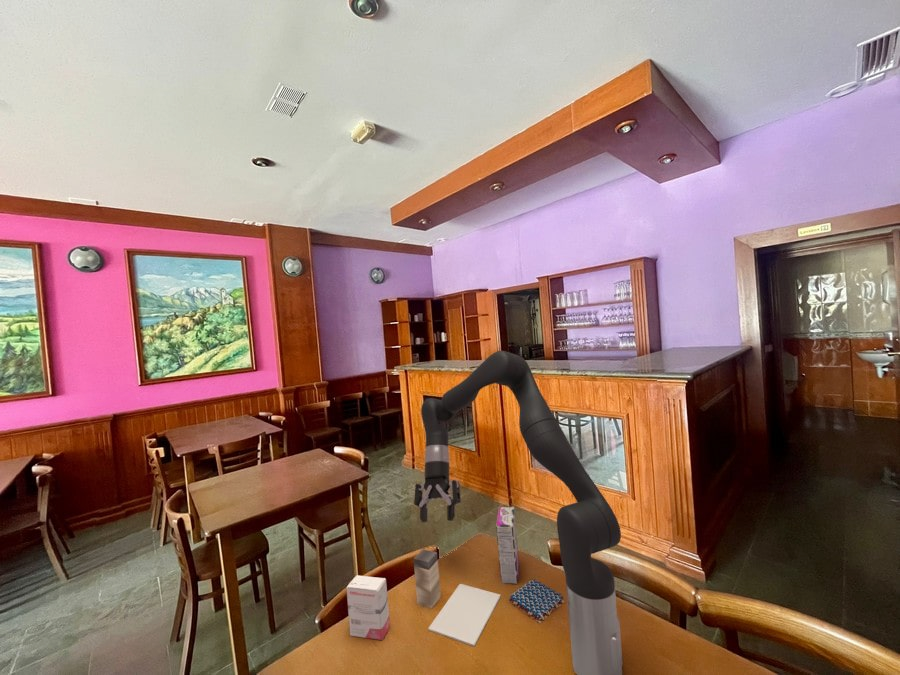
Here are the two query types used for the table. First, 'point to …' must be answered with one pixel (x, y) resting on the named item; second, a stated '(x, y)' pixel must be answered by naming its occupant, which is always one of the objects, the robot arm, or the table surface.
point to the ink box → (368, 607)
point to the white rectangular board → (465, 614)
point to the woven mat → (536, 600)
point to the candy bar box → (507, 545)
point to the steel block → (427, 578)
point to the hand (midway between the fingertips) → (436, 521)
